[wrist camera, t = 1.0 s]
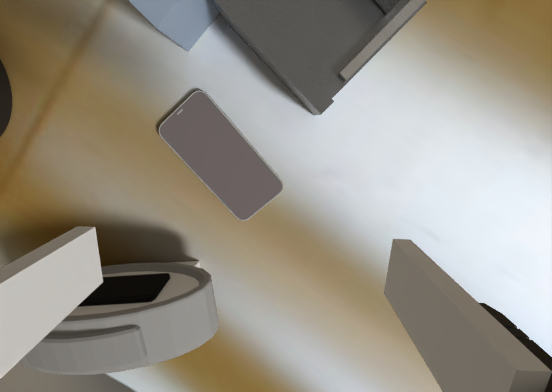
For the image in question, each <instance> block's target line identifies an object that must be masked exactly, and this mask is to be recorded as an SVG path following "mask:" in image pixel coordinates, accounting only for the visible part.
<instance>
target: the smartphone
mask: <svg viewBox="0 0 552 392" xmlns="http://www.w3.org/2000/svg"><path fill="white" fill-rule="evenodd" d="M159 134H160V136H161V138H162V139H163V140H164V141H165V142H166V143H167V144H168V145H169V146H170V147H171V148H172V149H173V151H174V152H175V153H176V154H177V155H178V156H179V157H180V158H181V159H182V160H183V161H184V162H185V163H186V164H187V165H188V167H189V168H190V169H191V170H192V171H193V172H194V173H195V174H196V175H197V176H198V177H199V178H200V179H201V180H202V182H203V183H204V184H205V185H206V186H207V187H208V188H209V189H210V190H211V191H212V192H213V193H214V194H215V195H216V197H217V198H218V199H219V200H220V201H221V202H222V203H223V204H224V205H225V206H226V207H227V208H228V209H229V210H230V212H231V213H232V214H233V215H234V216H235V217H236V218H237V219H239V220H241V221H245V220H248V219H249V218H251V217H252V216H253V215H254V214H256V213H257V212H258V211H259V210H261V209H262V208H263V207H264V206H265V205H267V204H268V203H269V202H270V201H272V200H273V199H274V198H275V197H277V196H278V195H279V194H280V193H281V192H282V191H283V187H284V186H283V182H282V180H281V179H280V178H279V176H278V175H277V174H276V173H275V172H274V171H273V169H272V168H271V167H270V166H269V165H268V164H267V162H266V161H265V160H264V159H263V158H262V157H261V155H260V154H259V153H258V152H257V151H256V150H255V148H254V147H253V146H252V145H251V144H250V143H249V141H248V140H247V139H246V138H245V137H244V136H243V134H242V133H241V132H240V131H239V130H238V129H237V127H236V126H235V125H234V123H233V122H232V121H231V120H230V119H229V118H228V116H227V115H226V114H225V113H224V112H223V111H222V110H221V109H220V108H219V106H218V105H217V104H216V103H215V102H214V101H213V99H212V98H211V97H210V96H209V95H208V94H207V93H206V92H203V91H195V92H194V93H192V94H191V95H190V96H189V97H188V98H187V99H186V100H185V101H184V102H183V103H182V104H181V105H180V106H179V107H178V108H177V109H176V110H175V111H174V112H173V113H172V114H171V115H170V116H169V117H168V118H167V119H166V120H165V121H164V122H163V123H162V124H161V125H160V127H159Z"/></svg>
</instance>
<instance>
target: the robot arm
mask: <svg viewBox="0 0 552 392" xmlns="http://www.w3.org/2000/svg"><path fill="white" fill-rule="evenodd" d="M11 110H12V94H11V87H10V83H9V79H8V76H7V73H6V71H5V68H4V66H3V64H2V62H1V60H0V136H1V135H2V134H3V132H4V131H5V129H6V127H7V125H8V122H9V119H10V116H11ZM102 283H103V277H102V270H101V263H100V257H99V250H98V243H97V236H96V229H95V227H85V226H77V227H75V228H73V229H72V230H70V231H68V232H66V233H64V234H62V235H61V236H59V237H57V238H55V239H53V240H51V241H50V242H48V243H46V244H44V245H42V246H40V247H39V248H37V249H35V250H33V251H31V252H29V253H28V254H26V255H24V256H22V257H20V258H18V259H17V260H15V261H13V262H11V263H9V264H7V265H6V266H4V267H2V268H0V379H1V378H2V377H3V376H4V375H5V374H6V373H7V372H8V371H9V370H10V369H11V368H12V367H13V366H14V365H16V364H17V362H19V361H20V360H21V359H22V358H23V357H24V356H25V355H26V354H27V353H28V352H29V351H30V350H31V349H33V348H34V347H35V346H36V345H37V344H38V343H39V342H40V341H41V340H42V339H43V338H44V337H45V336H46V335H47V334H48V333H49V332H51V331H52V330H53V329H54V328H55V327H56V326H57V325H58V324H59V323H60V322H61V321H62V320H63V319H64V318H65V317H66V316H68V315H69V314H70V313H71V312H72V311H73V310H74V309H75V308H76V307H77V306H78V305H79V304H80V303H81V302H82V301H83V300H85V299H86V298H87V297H88V296H89V295H90V294H91V293H92V292H93V291H94V290H95V289H96V288H97V287H98V286H99V285H100V284H102ZM384 294H385V296H386V297H387V299H388V301H389V302H390V304H391V306H392V307H393V309H394V311H395V312H396V314H397V316H398V317H399V319H400V321H401V322H402V324H403V326H404V327H405V329H406V331H407V332H408V334H409V336H410V337H411V339H412V341H413V343H414V344H415V346H416V348H417V349H418V351H419V353H420V354H421V356H422V358H423V359H424V361H425V363H426V364H427V366H428V368H429V369H430V371H431V373H432V374H433V376H434V378H435V379H436V381H437V383H438V384H439V386H440V388H441V389H442V391H443V392H552V357H551V356H550V355H549V354H547V353H546V352H545V351H544V350H543V349H542V348H541V347H539V346H538V345H537V344H536V343H535V342H534V341H533V340H529V337H528V336H527V335H526V334H525V333H523V332H522V331H521V330H520V329H517V326H516V325H514V324H513V323H512V322H511V321H510V320H509V319H508V318H506V317H505V316H504V315H503V314H502V313H500V312H498V311H497V310H495V309H493V308H492V307H490V306H488V305H486V304H485V303H478V302H477V301H476V300H475V299H474V298H472V297H471V296H470V295H469V294H468V293H467V292H466V291H465V290H464V289H463V288H462V287H461V286H460V285H459V284H457V283H456V282H455V281H454V280H453V279H452V278H451V277H450V276H449V275H448V274H447V273H446V272H445V271H443V270H442V269H441V268H440V267H439V266H438V265H437V264H436V263H435V262H434V261H433V260H432V259H431V258H429V257H428V256H427V255H426V254H425V253H424V252H423V251H422V250H421V249H420V248H419V247H418V246H417V245H416V244H414V243H413V242H412V241H411V240H404V239H393V243H392V249H391V254H390V260H389V266H388V272H387V278H386V284H385V290H384Z"/></svg>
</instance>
